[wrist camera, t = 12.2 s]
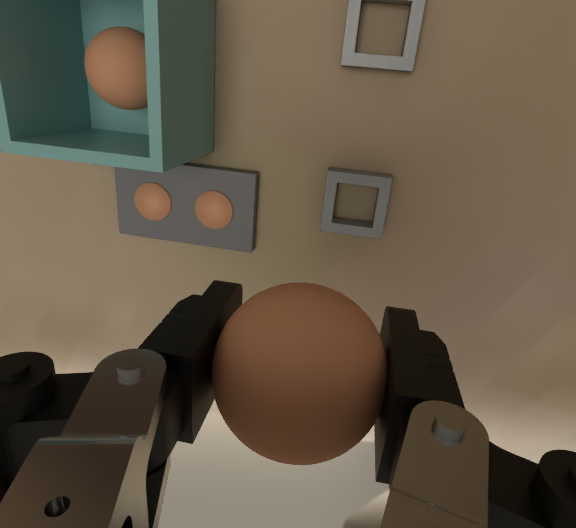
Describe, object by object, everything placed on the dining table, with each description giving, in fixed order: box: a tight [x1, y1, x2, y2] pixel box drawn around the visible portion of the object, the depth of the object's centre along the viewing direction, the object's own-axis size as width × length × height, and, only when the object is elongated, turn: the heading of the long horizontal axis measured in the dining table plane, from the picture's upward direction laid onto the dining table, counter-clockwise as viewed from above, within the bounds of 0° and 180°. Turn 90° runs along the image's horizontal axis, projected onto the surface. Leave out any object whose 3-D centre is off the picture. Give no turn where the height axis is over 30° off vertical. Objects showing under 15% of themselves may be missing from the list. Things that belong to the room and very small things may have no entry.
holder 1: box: [341, 0, 426, 72], centre depth 21 cm, size 4×4×1 cm
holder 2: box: [320, 167, 393, 239], centre depth 25 cm, size 4×4×1 cm
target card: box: [115, 163, 259, 253], centre depth 27 cm, size 9×5×1 cm, turn 85°
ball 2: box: [212, 283, 387, 465], centre depth 10 cm, size 4×4×4 cm
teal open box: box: [0, 0, 216, 173], centre depth 21 cm, size 8×8×7 cm
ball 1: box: [84, 26, 148, 110], centre depth 22 cm, size 4×4×4 cm
